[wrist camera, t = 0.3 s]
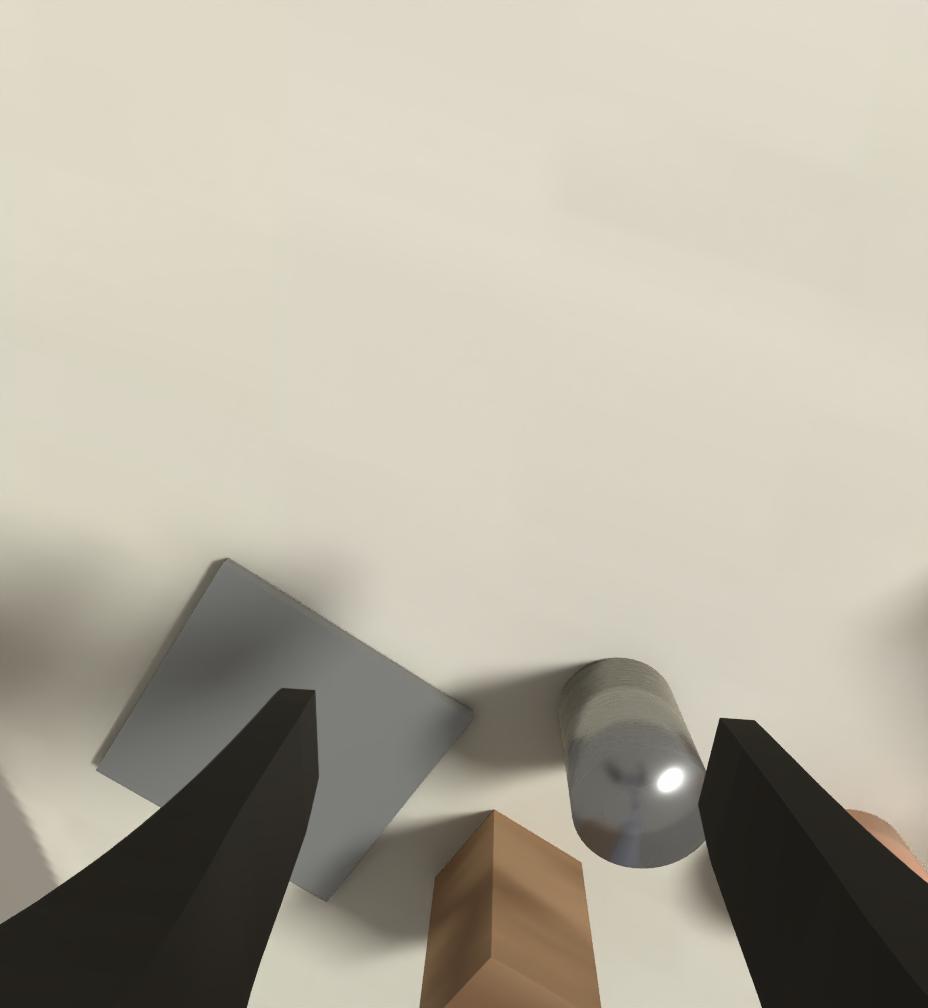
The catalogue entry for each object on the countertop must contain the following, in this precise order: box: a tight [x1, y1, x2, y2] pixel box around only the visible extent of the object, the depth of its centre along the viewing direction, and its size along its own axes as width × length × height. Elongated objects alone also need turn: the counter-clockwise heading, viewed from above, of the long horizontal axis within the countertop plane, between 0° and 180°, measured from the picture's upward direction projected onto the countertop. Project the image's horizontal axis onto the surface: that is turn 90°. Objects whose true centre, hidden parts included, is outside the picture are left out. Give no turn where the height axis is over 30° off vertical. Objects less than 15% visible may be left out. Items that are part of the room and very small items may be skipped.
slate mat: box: [96, 558, 473, 902], centre depth 25 cm, size 10×10×1 cm
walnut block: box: [420, 810, 601, 1008], centre depth 23 cm, size 4×4×6 cm
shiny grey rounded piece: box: [558, 658, 706, 868], centre depth 22 cm, size 4×4×5 cm
